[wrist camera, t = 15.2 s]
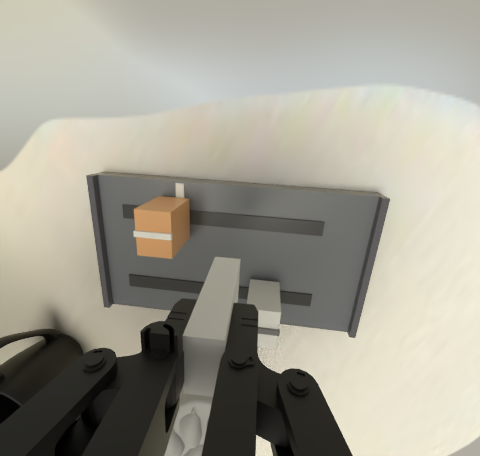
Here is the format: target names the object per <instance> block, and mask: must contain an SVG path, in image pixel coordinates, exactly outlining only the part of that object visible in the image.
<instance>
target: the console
mask: <svg viewBox="0 0 480 456" xmlns="http://www.w3.org/2000/svg"><path fill="white" fill-rule="evenodd" d="M86 176H87V184H88V191H89V199H90V206H91V213H92V221H93V228H94V235H95V243H96V250H97V257H98V265H99V272H100V279H101V287H102V294H103V302H104V307H108V308H109V307H110V306H111V305H112V304H121V305H130V306H138V307H146V308H154V309H163V310H172V308H173V306H174V304H175V303H177V302H178V301H179V300H180V299H182V298H186V299H196V300H198V297H199V295H200V292H201V290H202V287H203V285H204V283H205V280H206V278H207V275H208V273H209V270H210V268H211V266H212V263H213V261H214V258H215V257H224V258H236V259H241V260H240V275H239V291H238V302H237V303H243V304H247V298H248V291H249V284H250V279H255V280H264V281H273V282H279V285H280V302H281V317H280V324H287V325H295V326H303V327H311V328H320V329H328V330H336V331H344V332H347V333H348V335H349V337H353V338H355V336H356V332H357V328H358V324H359V320H360V317H361V313H362V309H363V305H364V301H365V297H366V293H367V289H368V285H369V281H370V277H371V273H372V269H373V265H374V261H375V257H376V253H377V249H378V245H379V241H380V237H381V233H382V229H383V225H384V221H385V217H386V213H387V209H388V205H389V201H390V199H389V198H387V197H385V196H383V195H381V194H379V193H376V192H363V191H350V190H336V189H323V188H310V187H297V186H284V185H270V184H257V183H244V182H231V181H217V180H204V179H191V178H178V177H164V176H151V175H138V174H125V173H111V172H101V173H96V174H91V175H86ZM158 196H165V197H178V198H189V199H190V238H189V239H188V240H187V241H186V243H185V244H184V245H183V246H182V247H181V249H180V250H179V251H178V252H177V254H176V255H175V256H174V257H173V258H172V259H168V258H159V257H149V256H139V255H137V244H136V237H134V234H133V231H134V230H135V219H134V209H135V208H137V207H139V206H141V205H143V204H145V203H147V202H149V201H151V200H152V199H154V198H156V197H158Z"/></svg>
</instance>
